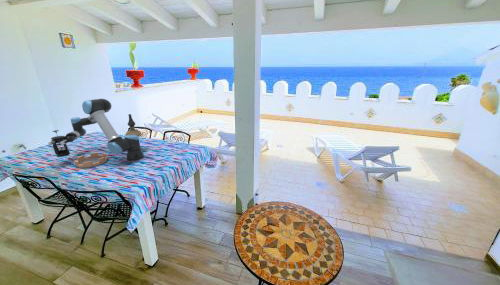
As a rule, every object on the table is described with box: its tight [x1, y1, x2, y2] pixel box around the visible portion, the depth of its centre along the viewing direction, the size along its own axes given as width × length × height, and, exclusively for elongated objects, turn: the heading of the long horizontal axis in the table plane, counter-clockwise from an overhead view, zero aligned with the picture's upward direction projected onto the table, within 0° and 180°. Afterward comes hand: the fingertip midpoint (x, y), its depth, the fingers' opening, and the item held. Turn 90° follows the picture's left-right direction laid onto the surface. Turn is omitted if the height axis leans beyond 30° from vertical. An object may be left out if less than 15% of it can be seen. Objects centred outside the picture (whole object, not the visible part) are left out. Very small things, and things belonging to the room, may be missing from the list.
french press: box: [50, 129, 71, 158], centre depth 179 cm, size 12×9×23 cm
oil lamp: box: [124, 114, 143, 152], centre depth 213 cm, size 15×15×40 cm
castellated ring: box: [74, 151, 108, 169], centre depth 190 cm, size 24×24×6 cm
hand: (55, 143), depth 174 cm, fingers closed on french press, 9 cm apart
